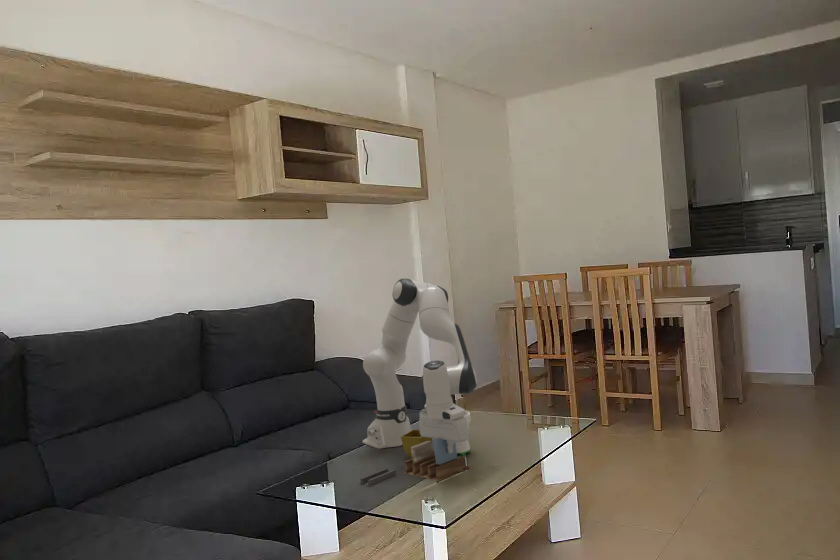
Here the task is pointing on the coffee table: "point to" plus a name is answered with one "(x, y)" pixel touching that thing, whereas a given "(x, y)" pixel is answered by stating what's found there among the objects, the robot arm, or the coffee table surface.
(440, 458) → the upright blue tile
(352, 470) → the coffee table surface
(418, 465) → the rack
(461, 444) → the cup
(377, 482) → the stand
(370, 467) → the coffee table surface
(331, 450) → the coffee table surface
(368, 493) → the coffee table surface
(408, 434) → the flower pot
